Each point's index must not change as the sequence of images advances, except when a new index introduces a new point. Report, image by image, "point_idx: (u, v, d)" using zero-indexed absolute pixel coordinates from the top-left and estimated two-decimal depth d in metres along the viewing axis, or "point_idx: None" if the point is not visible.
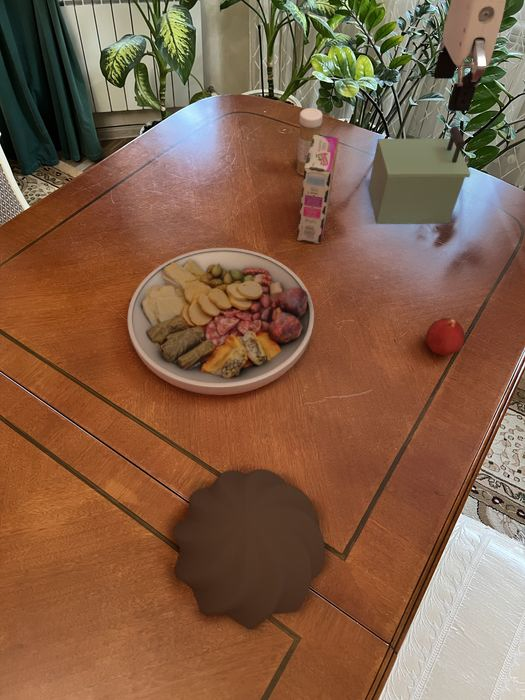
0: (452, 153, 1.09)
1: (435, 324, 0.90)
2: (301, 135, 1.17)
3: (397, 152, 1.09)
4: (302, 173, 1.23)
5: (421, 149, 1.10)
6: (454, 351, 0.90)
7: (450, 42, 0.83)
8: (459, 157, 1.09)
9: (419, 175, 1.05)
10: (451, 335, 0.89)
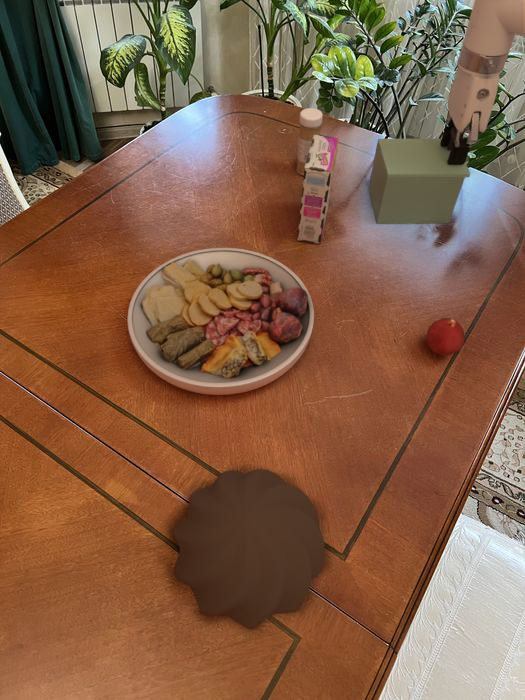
0: None
1: (435, 324, 0.90)
2: (301, 135, 1.17)
3: (397, 152, 1.09)
4: (302, 173, 1.23)
5: (421, 149, 1.10)
6: (454, 351, 0.90)
7: (453, 111, 1.01)
8: None
9: (419, 175, 1.05)
10: (451, 335, 0.89)
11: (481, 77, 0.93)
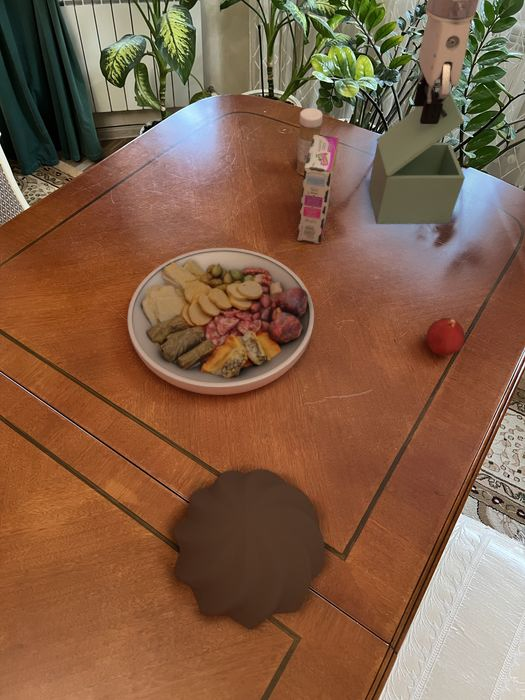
0: (443, 106, 1.02)
1: (435, 324, 0.90)
2: (301, 135, 1.17)
3: (393, 142, 1.08)
4: (302, 173, 1.23)
5: (414, 123, 1.06)
6: (454, 351, 0.90)
7: (424, 65, 0.95)
8: (450, 106, 1.00)
9: (415, 155, 1.02)
10: (451, 335, 0.89)
11: (450, 23, 0.86)
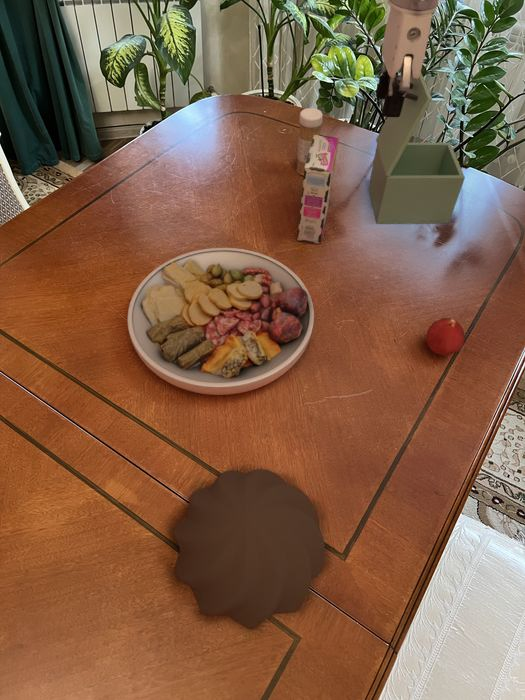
0: (414, 88, 0.99)
1: (435, 324, 0.90)
2: (301, 135, 1.17)
3: (386, 139, 1.07)
4: (302, 173, 1.23)
5: None
6: (454, 351, 0.90)
7: (386, 56, 0.93)
8: (419, 86, 0.97)
9: (402, 148, 1.01)
10: (451, 335, 0.89)
11: (411, 15, 0.85)
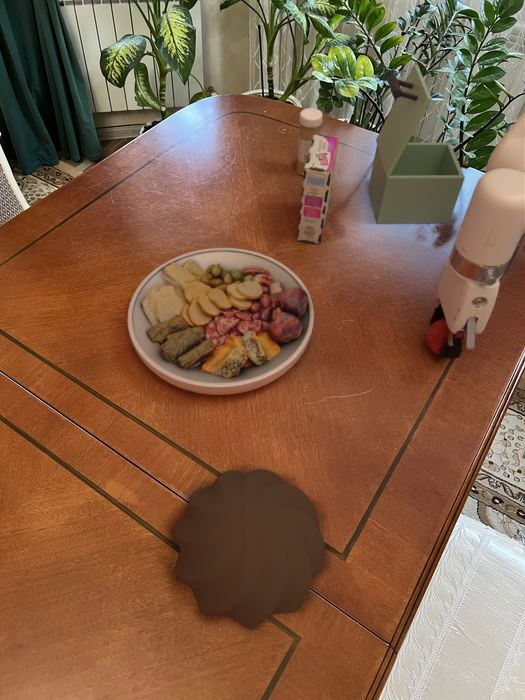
0: (414, 88, 0.99)
1: (435, 324, 0.90)
2: (301, 135, 1.17)
3: (386, 139, 1.07)
4: (302, 173, 1.23)
5: (397, 114, 1.04)
6: None
7: (445, 306, 0.85)
8: (419, 86, 0.97)
9: (402, 148, 1.01)
10: None
11: (477, 285, 0.77)
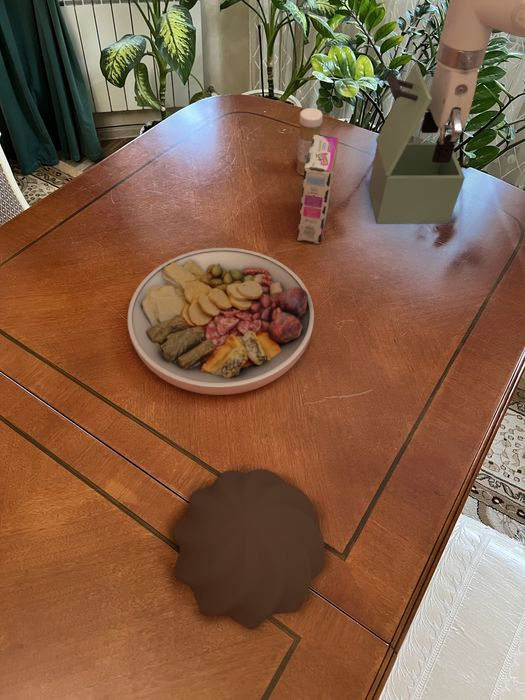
0: (414, 88, 0.99)
1: None
2: (301, 135, 1.17)
3: (386, 139, 1.07)
4: (302, 173, 1.23)
5: (397, 114, 1.04)
6: None
7: (433, 108, 1.01)
8: (419, 86, 0.97)
9: (402, 148, 1.01)
10: None
11: (459, 73, 0.92)
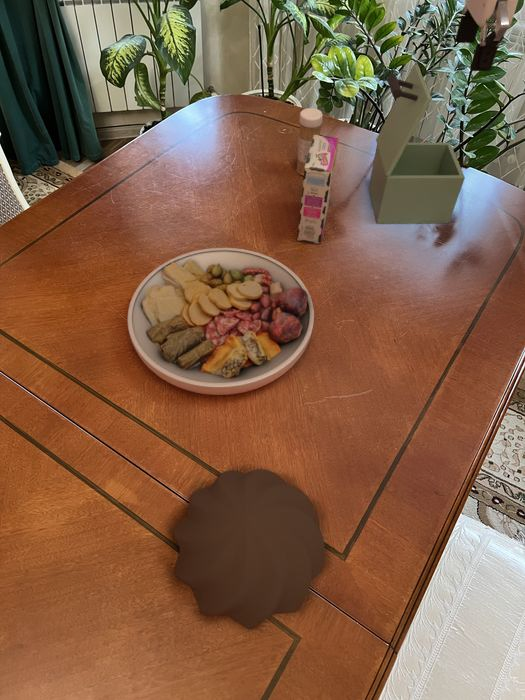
0: (414, 88, 0.99)
1: None
2: (301, 135, 1.17)
3: (386, 139, 1.07)
4: (302, 173, 1.23)
5: (397, 114, 1.04)
6: None
7: (473, 4, 0.88)
8: (419, 86, 0.97)
9: (402, 148, 1.01)
10: None
11: None
